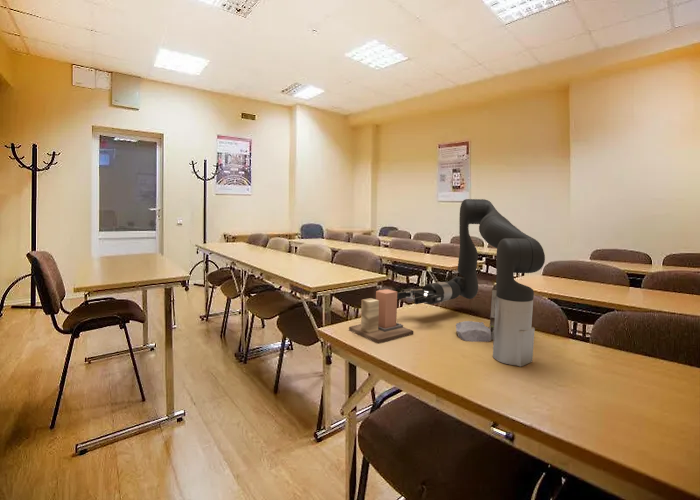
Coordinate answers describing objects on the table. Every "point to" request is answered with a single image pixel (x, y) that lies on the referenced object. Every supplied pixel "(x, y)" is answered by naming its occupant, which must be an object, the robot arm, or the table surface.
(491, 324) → the coffee box
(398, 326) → the slot frame
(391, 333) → the brown board
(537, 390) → the table surface
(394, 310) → the terracotta pillar
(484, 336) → the stone block
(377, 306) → the birch column
